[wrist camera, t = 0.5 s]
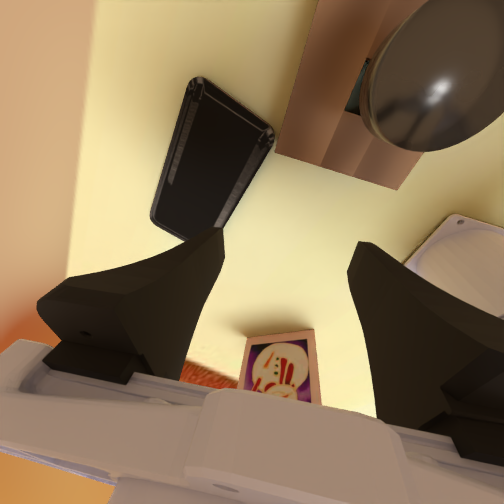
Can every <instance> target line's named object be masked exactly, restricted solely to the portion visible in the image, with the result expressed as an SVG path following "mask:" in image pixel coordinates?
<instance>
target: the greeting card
mask: <svg viewBox="0 0 504 504" xmlns="http://www.w3.org/2000/svg"><path fill="white" fill-rule="evenodd" d="M237 389H241V390H249V391H254V392H259V393H264V394H269V395H274V396H279V397H284V398H289V399H294V400H299V401H304V402H308V403H313V404H318V405H322V403H321V393H320V383H319V373H318V363H317V352H316V342H315V332H314V329H312V330H304V331H297V332H289V333H281V334H273V335H265V336H257V337H249V338H247V341H246V346H245V351H244V356H243V361H242V366H241V372H240V377H239V382H238V387H237Z"/></svg>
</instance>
